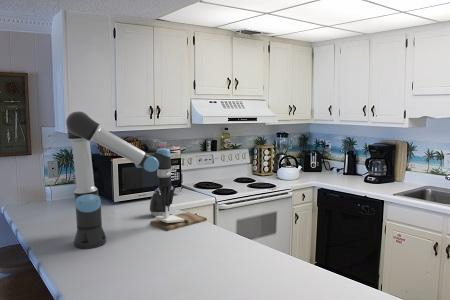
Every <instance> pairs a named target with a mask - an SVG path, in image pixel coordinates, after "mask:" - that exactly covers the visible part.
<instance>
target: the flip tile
mask: <svg viewBox="0 0 450 300" xmlns="http://www.w3.org/2000/svg"><path fill="white" fill-rule="evenodd" d="M174 215H175V214H172V215H170V214H168V218H164V217H163V216H154V217H155V220H157V219H158V220H161V221H164V222H166V223H172V222H184V220H185V219H183V218H180V217H177V216H174Z"/></svg>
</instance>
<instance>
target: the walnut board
mask: <svg viewBox="0 0 450 300" xmlns="http://www.w3.org/2000/svg"><path fill="white" fill-rule="evenodd" d="M169 215H174V216H177V217H180V218H183V219H185V220H184V222H172V223H166V222H164V221H161V220H158V219H154V220H150V225H153V226H155V227H158V228H160V229H163V230H164V231H167V232H169V231H172V230H177V229H180V228H185V227H189V226H192V225H196V224H199V223H203V222H206V221H208V220H207V219H208V218H207V217H205V216H201V215H198V214H196V213H192V212H190V211H187V212H186V211H185V212H183V213H178V214H172V213H169Z"/></svg>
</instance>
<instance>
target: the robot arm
mask: <svg viewBox="0 0 450 300" xmlns="http://www.w3.org/2000/svg"><path fill="white" fill-rule="evenodd" d="M65 123H66V125H65V126H66V131H67V139H68V141H70V142H71V147H72V155H73V164H74V167H73V168H74V174H75V183H76V189H75V190H74V191H73V193H74V206H75V215H76V216H75V217H76V219H75V220H76V231H75V236H74V239H73V245H74V247H75V248H77V249H93V248H97V247H101V246H103V245H105V244H106V243H107V235H106V232H105V231H104V229H103V224H102V223H103V222H102V201H101V197H100V196H99V189H98V188H97V187H96V186H95V180H94V179H95V178H94V169H93V162H92V152H91V144H90V143H91V142H92V141H93V142H94V143H96V144H98V145H100V146H102V147H104V148H106V149H107V150H109V151H111V152H112V153H114V154H117V155H119V156H121V157H123V158H124V159H126V160H128V161H129V162H131V163H133V164H134V165H135V168H137V169H138V168H139V169H140V168H141V169H144V170H145V171H146V172H150V173H152V172H155V171H156V170H157V172H156V173H157V184H158V185H157V188H155V189H154V190H153V193H154V192H155V193H156V197H157V200H158V204H159V206H162V212H163V217H164V218H168V215H169V212H170V206H171V205H172V204H173V199H174V193H175V190H176V187H175V186H173V184H172V166H171V165H172V162H171V157H172V156H171V149H169V148H168V147H163V148H157V149H156V152H153V153H152V152H149V153H147V152H145V151H144V150H142V149H140V148H138V147H136V146H135V145H133V144H131V143H129V142H127V141H126V140H124V139H123V138H121V137H119V136H118V135H116V134H114V133H112V132H110V131H109V130H107V129H105V128H103V127H101V124H100V123H98V122H97V121H95V120H94V119H92V118H91V117H90V116H89V115H88V114H87V113H86V112H83V111H73V112H71V113H70V114H68V116H67V118H66V120H65ZM159 192H160V193H161V196H160V193H159Z"/></svg>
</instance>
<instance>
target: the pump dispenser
mask: <svg viewBox="0 0 450 300" xmlns="http://www.w3.org/2000/svg"><path fill="white" fill-rule="evenodd" d="M159 193H160V192H159ZM160 196H161V193H160ZM149 211H150V214H151V215H152V216H153V217H155V216H163V212H162V206H159V204H158V200H157V197H156V193H155V192H154V191H153V194H152V196H151V199H150V202H149Z"/></svg>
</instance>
